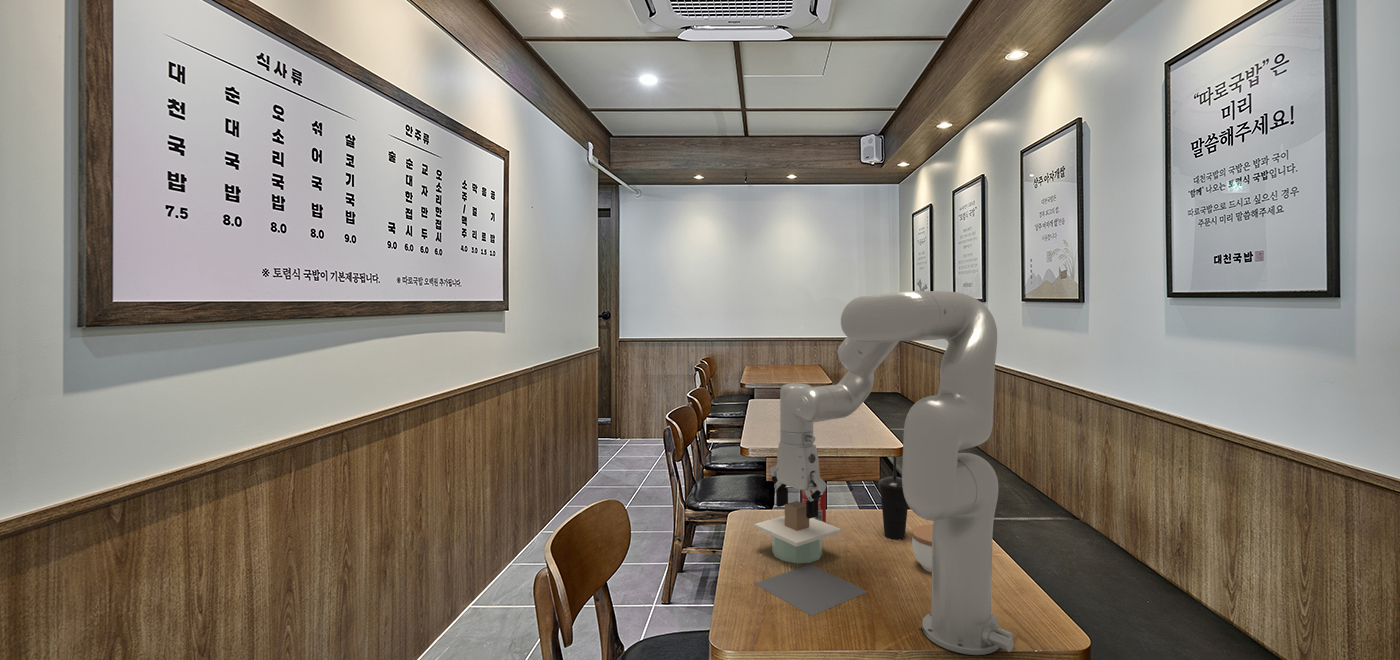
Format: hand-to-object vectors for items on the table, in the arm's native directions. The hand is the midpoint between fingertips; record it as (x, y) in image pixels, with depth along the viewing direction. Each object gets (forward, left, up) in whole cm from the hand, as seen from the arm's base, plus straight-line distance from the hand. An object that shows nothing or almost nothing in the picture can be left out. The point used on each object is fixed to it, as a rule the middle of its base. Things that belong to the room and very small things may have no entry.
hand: (796, 511), depth 136 cm
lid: (0, 0, -4) cm, 4 cm away
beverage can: (+11, -17, -10) cm, 23 cm away
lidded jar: (-23, -20, -11) cm, 32 cm away
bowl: (0, 0, -10) cm, 10 cm away
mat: (-14, +10, -10) cm, 20 cm away
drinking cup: (-6, -28, -10) cm, 30 cm away
